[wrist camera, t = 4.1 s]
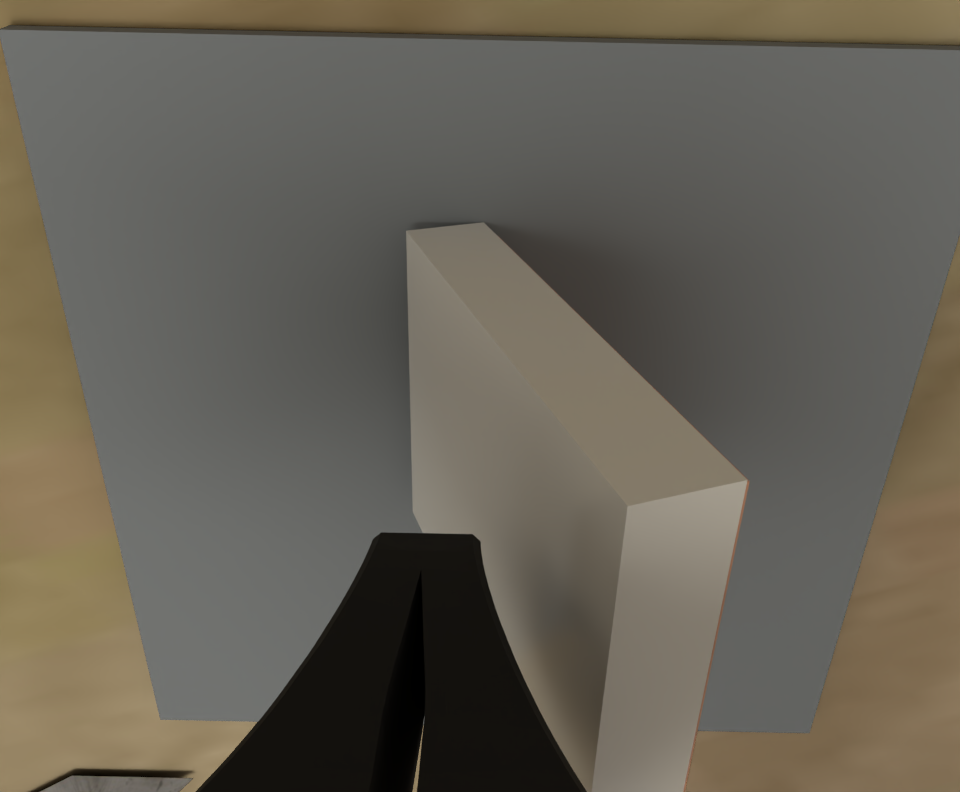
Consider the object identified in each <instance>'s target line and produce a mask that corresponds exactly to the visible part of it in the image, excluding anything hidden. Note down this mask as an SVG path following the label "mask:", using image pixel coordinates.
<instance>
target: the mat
mask: <svg viewBox="0 0 960 792" xmlns="http://www.w3.org/2000/svg"><path fill="white" fill-rule="evenodd" d="M0 40H1V44H2V48H3V52H4V57H5V61H6V65H7V69H8V74H9V78H10V82H11V86H12V91H13V95H14V99H15V103H16V108H17V112H18V116H19V120H20V125H21V129H22V133H23V137H24V142H25V146H26V150H27V154H28V159H29V163H30V167H31V171H32V176H33V180H34V184H35V188H36V193H37V197H38V201H39V205H40V210H41V214H42V218H43V222H44V227H45V231H46V235H47V239H48V244H49V248H50V252H51V257H52V261H53V265H54V269H55V274H56V278H57V282H58V286H59V291H60V295H61V299H62V303H63V308H64V312H65V316H66V320H67V325H68V329H69V333H70V337H71V342H72V346H73V350H74V354H75V359H76V363H77V367H78V371H79V376H80V380H81V384H82V388H83V393H84V397H85V401H86V405H87V410H88V414H89V418H90V422H91V427H92V431H93V435H94V439H95V444H96V448H97V452H98V456H99V461H100V465H101V469H102V473H103V478H104V482H105V486H106V490H107V495H108V499H109V503H110V507H111V512H112V516H113V520H114V524H115V529H116V533H117V537H118V541H119V546H120V550H121V554H122V558H123V563H124V567H125V571H126V576H127V580H128V584H129V588H130V593H131V597H132V601H133V605H134V610H135V614H136V618H137V622H138V627H139V631H140V635H141V639H142V644H143V648H144V652H145V656H146V661H147V665H148V669H149V673H150V678H151V682H152V686H153V690H154V695H155V699H156V703H157V707H158V712H159V716H160V720H205V721H253V722H258V721H259V720H260V719H261V717H262V716H263V715H264V714H265V712H266V711H267V710H268V709H269V707H270V706H271V705H272V703H273V702H274V701H275V700H276V698H277V697H278V696H279V694H280V693H281V691H282V690H283V689H284V687H285V686H286V685H287V683H288V682H289V680H290V679H291V678H292V676H293V675H294V673H295V672H296V671H297V669H298V668H299V666H300V665H301V664H302V662H303V661H304V660H305V658H306V657H307V655H308V654H309V652H310V651H311V649H312V648H313V646H314V645H315V643H316V642H317V640H318V639H319V637H320V636H321V634H322V632H323V631H324V629H325V628H326V626H327V624H328V623H329V621H330V620H331V618H332V616H333V615H334V613H335V612H336V610H337V608H338V607H339V605H340V603H341V602H342V600H343V598H344V596H345V595H346V593H347V591H348V589H349V588H350V586H351V584H352V582H353V580H354V578H355V577H356V575H357V573H358V571H359V569H360V567H361V565H362V563H363V561H364V559H365V557H366V554H367V552H368V550H369V548H370V545H371V543H372V540H373V539H374V538H375V537H376V536H377V535H379V534H380V533H381V532H388V533H423V532H422V530H421V528H420V526H419V524H418V522H417V520H416V518H415V515H414V513H413V501H412V459H411V417H410V375H409V333H408V291H407V249H406V231H408V230H417V229H426V228H435V227H445V226H454V225H463V224H472V223H481V222H484V223H485V224H486V225H487V226H488V227H489V228H490V229H491V230H492V231H493V232H494V233H495V234H496V235H497V236H499V237H500V238H501V239H502V240H503V241H504V242H505V243H506V244H507V245H508V246H509V247H510V248H511V249H512V250H513V251H514V252H515V253H516V254H517V255H518V256H519V257H520V258H521V259H522V260H523V261H524V262H525V263H526V264H527V265H528V266H530V267H531V268H532V269H533V270H534V271H535V272H536V273H537V274H538V275H539V276H540V277H541V278H542V279H543V280H544V281H545V282H546V283H547V284H548V285H549V286H550V287H551V288H552V289H553V290H554V291H555V292H556V293H557V294H558V295H559V296H560V297H561V298H562V299H563V300H564V301H565V302H566V303H567V304H568V305H569V306H571V307H572V308H573V309H574V310H575V311H576V312H577V313H578V314H579V315H580V316H581V317H582V318H583V319H584V320H585V321H586V322H587V323H588V324H589V325H590V326H591V327H592V328H593V329H594V330H595V331H596V332H597V333H598V334H599V335H600V336H601V337H602V338H603V339H604V340H605V341H606V342H607V343H608V344H609V345H611V346H612V347H613V348H614V349H615V350H616V351H617V352H618V353H619V354H620V355H621V356H622V357H623V358H624V359H625V360H626V361H627V362H628V363H629V364H630V365H631V366H632V367H633V368H634V369H635V370H636V371H637V372H638V373H639V374H640V375H641V376H642V377H643V378H644V379H645V380H646V381H647V382H648V383H649V384H650V385H652V386H653V387H654V388H655V389H656V390H657V391H658V392H659V393H660V394H661V395H662V396H663V397H664V398H665V399H666V400H667V401H668V402H669V403H670V404H671V405H672V406H673V407H674V408H675V409H676V410H677V411H678V412H679V413H680V414H681V415H682V416H683V417H684V418H685V419H686V420H687V421H688V422H689V423H690V424H691V425H693V426H694V427H695V428H696V429H697V430H698V431H699V432H700V433H701V434H702V435H703V436H704V437H705V438H706V439H707V440H708V441H709V442H710V443H711V444H712V445H713V446H714V447H715V448H716V449H717V450H718V451H719V452H720V453H721V454H722V455H723V456H724V457H725V458H726V459H727V460H728V461H729V462H730V463H731V464H732V465H734V466H735V467H736V468H737V469H738V470H739V471H740V472H741V473H742V474H743V475H744V476H745V477H746V478H747V479H748V480H749V481H750V482H749V487H748V491H747V496H746V501H745V506H744V511H743V515H742V520H741V525H740V530H739V535H738V539H737V544H736V549H735V554H734V559H733V563H732V568H731V573H730V578H729V583H728V587H727V592H726V597H725V602H724V607H723V611H722V616H721V621H720V626H719V631H718V635H717V640H716V645H715V650H714V655H713V660H712V664H711V669H710V674H709V679H708V684H707V688H706V693H705V698H704V703H703V708H702V712H701V717H700V722H699V727H698V731H729V732H776V733H810V729H811V726H812V723H813V719H814V716H815V713H816V709H817V706H818V703H819V700H820V696H821V693H822V690H823V686H824V683H825V680H826V676H827V673H828V670H829V666H830V663H831V660H832V656H833V653H834V650H835V646H836V643H837V640H838V636H839V633H840V630H841V627H842V623H843V620H844V617H845V613H846V610H847V607H848V603H849V600H850V597H851V593H852V590H853V587H854V583H855V580H856V577H857V573H858V570H859V567H860V563H861V560H862V557H863V554H864V550H865V547H866V544H867V540H868V537H869V534H870V530H871V527H872V524H873V520H874V517H875V514H876V510H877V507H878V504H879V500H880V497H881V494H882V490H883V487H884V484H885V481H886V477H887V474H888V471H889V467H890V464H891V461H892V457H893V454H894V451H895V447H896V444H897V441H898V437H899V434H900V431H901V427H902V424H903V421H904V417H905V414H906V411H907V408H908V404H909V401H910V398H911V394H912V391H913V388H914V384H915V381H916V378H917V374H918V371H919V368H920V364H921V361H922V358H923V354H924V351H925V348H926V344H927V341H928V338H929V335H930V331H931V328H932V325H933V321H934V318H935V315H936V311H937V308H938V305H939V301H940V298H941V295H942V291H943V288H944V285H945V281H946V278H947V275H948V271H949V268H950V265H951V262H952V258H953V255H954V252H955V248H956V245H957V242H958V238H959V235H960V46H946V45H900V44H853V43H807V42H761V41H714V40H668V39H621V38H575V37H528V36H482V35H436V34H389V33H343V32H296V31H250V30H204V29H157V28H111V27H64V26H18V25H9V26H6V27H4V28H1V29H0ZM424 718H425V716H424ZM423 725H424V722H423Z"/></svg>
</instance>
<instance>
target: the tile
mask: <svg viewBox="0 0 960 792" xmlns="http://www.w3.org/2000/svg"><path fill="white" fill-rule="evenodd" d="M406 249H407V291H408V333H409V375H410V417H411V459H412V501H413V513H414V515H415V518H416V520H417V522H418V524H419V526H420V528H421V530H422V532H423V533H441V534H473V535H474V536H475V537H476V538H477V539H479V540H480V541H481V553H482V559H483V565H484V570H485V574H486V578H487V582H488V586H489V589H490V592H491V595H492V599H493V602H494V605H495V608H496V611H497V614H498V617H499V619H500V622H501V625H502V627H503V630H504V632H505V635H506V637H507V640H508V642H509V645H510V647H511V650H512V652H513V655H514V657H515V660H516V662H517V664H518V666H519V669H520V671H521V673H522V675H523V677H524V680H525V682H526V684H527V686H528V688H529V690H530V692H531V694H532V696H533V698H534V700H535V702H536V704H537V706H538V708H539V710H540V712H541V714H542V716H543V718H544V720H545V722H546V724H547V725H548V727H549V729H550V731H551V733H552V735H553V736H554V738H555V740H556V742H557V743H558V745H559V747H560V749H561V750H562V752H563V754H564V755H565V757H566V759H567V761H568V762H569V764H570V766H571V767H572V769H573V771H574V772H575V774H576V775H577V777H578V778H579V780H580V782H581V783H582V785H583V786H584V788H585V789H586V791H587V792H685V789H686V784H687V780H688V775H689V770H690V765H691V760H692V756H693V751H694V746H695V741H696V736H697V732H698V727H699V722H700V717H701V712H702V708H703V703H704V698H705V693H706V688H707V684H708V679H709V674H710V669H711V664H712V660H713V655H714V650H715V645H716V640H717V635H718V631H719V626H720V621H721V616H722V611H723V607H724V602H725V597H726V592H727V587H728V583H729V578H730V573H731V568H732V563H733V559H734V554H735V549H736V544H737V539H738V535H739V530H740V525H741V520H742V515H743V511H744V506H745V501H746V496H747V491H748V487H749V482H750V481H749V480H748V479H747V478H746V477H745V476H744V475H743V474H742V473H741V472H740V471H739V470H738V469H737V468H736V467H735V466H734V465H732V464H731V463H730V462H729V461H728V460H727V459H726V458H725V457H724V456H723V455H722V454H721V453H720V452H719V451H718V450H717V449H716V448H715V447H714V446H713V445H712V444H711V443H710V442H709V441H708V440H707V439H706V438H705V437H704V436H703V435H702V434H701V433H700V432H699V431H698V430H697V429H696V428H695V427H694V426H693V425H691V424H690V423H689V422H688V421H687V420H686V419H685V418H684V417H683V416H682V415H681V414H680V413H679V412H678V411H677V410H676V409H675V408H674V407H673V406H672V405H671V404H670V403H669V402H668V401H667V400H666V399H665V398H664V397H663V396H662V395H661V394H660V393H659V392H658V391H657V390H656V389H655V388H654V387H653V386H652V385H650V384H649V383H648V382H647V381H646V380H645V379H644V378H643V377H642V376H641V375H640V374H639V373H638V372H637V371H636V370H635V369H634V368H633V367H632V366H631V365H630V364H629V363H628V362H627V361H626V360H625V359H624V358H623V357H622V356H621V355H620V354H619V353H618V352H617V351H616V350H615V349H614V348H613V347H612V346H611V345H609V344H608V343H607V342H606V341H605V340H604V339H603V338H602V337H601V336H600V335H599V334H598V333H597V332H596V331H595V330H594V329H593V328H592V327H591V326H590V325H589V324H588V323H587V322H586V321H585V320H584V319H583V318H582V317H581V316H580V315H579V314H578V313H577V312H576V311H575V310H574V309H573V308H572V307H571V306H569V305H568V304H567V303H566V302H565V301H564V300H563V299H562V298H561V297H560V296H559V295H558V294H557V293H556V292H555V291H554V290H553V289H552V288H551V287H550V286H549V285H548V284H547V283H546V282H545V281H544V280H543V279H542V278H541V277H540V276H539V275H538V274H537V273H536V272H535V271H534V270H533V269H532V268H531V267H530V266H528V265H527V264H526V263H525V262H524V261H523V260H522V259H521V258H520V257H519V256H518V255H517V254H516V253H515V252H514V251H513V250H512V249H511V248H510V247H509V246H508V245H507V244H506V243H505V242H504V241H503V240H502V239H501V238H500V237H499V236H497V235H496V234H495V233H494V232H493V231H492V230H491V229H490V228H489V227H488V226H487V225H486V224H485V223H484V222H481V223H472V224H463V225H454V226H445V227H435V228H426V229H417V230H408V231H406Z"/></svg>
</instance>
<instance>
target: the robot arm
mask: <svg viewBox="0 0 960 792" xmlns="http://www.w3.org/2000/svg"><path fill="white" fill-rule="evenodd" d="M424 716H425V718H424ZM423 722H424V728H423ZM422 729H423V738H422V749H421V759H420V769H419V779H418V788H417V792H587V791H586V789H585V788H584V786H583V785H582V783H581V782H580V780H579V778H578V777H577V775H576V774H575V772H574V771H573V769H572V767H571V766H570V764H569V762H568V761H567V759H566V757H565V755H564V754H563V752H562V750H561V749H560V747H559V745H558V743H557V742H556V740H555V738H554V736H553V735H552V733H551V731H550V729H549V727H548V725H547V724H546V722H545V720H544V718H543V716H542V714H541V712H540V710H539V708H538V706H537V704H536V702H535V700H534V698H533V696H532V694H531V692H530V690H529V688H528V686H527V684H526V682H525V680H524V677H523V675H522V673H521V671H520V669H519V666H518V664H517V662H516V660H515V657H514V655H513V652H512V650H511V647H510V645H509V642H508V640H507V637H506V635H505V632H504V630H503V627H502V625H501V622H500V619H499V617H498V614H497V611H496V608H495V605H494V602H493V599H492V595H491V592H490V589H489V586H488V582H487V578H486V574H485V570H484V565H483V559H482V553H481V541H480V540H479V539H477V538H476V537H475V536H474V535H473V534H441V533H388V532H381V533H380V534H379V535H377V536H376V537H375V538H374V539H373V540H372V543H371V545H370V548H369V550H368V552H367V554H366V557H365V559H364V561H363V563H362V565H361V567H360V569H359V571H358V573H357V575H356V577H355V578H354V580H353V582H352V584H351V586H350V588H349V589H348V591H347V593H346V595H345V596H344V598H343V600H342V602H341V603H340V605H339V607H338V608H337V610H336V612H335V613H334V615H333V616H332V618H331V620H330V621H329V623H328V624H327V626H326V628H325V629H324V631H323V632H322V634H321V636H320V637H319V639H318V640H317V642H316V643H315V645H314V646H313V648H312V649H311V651H310V652H309V654H308V655H307V657H306V658H305V660H304V661H303V662H302V664H301V665H300V666H299V668H298V669H297V671H296V672H295V673H294V675H293V676H292V678H291V679H290V680H289V682H288V683H287V685H286V686H285V687H284V689H283V690H282V691H281V693H280V694H279V696H278V697H277V698H276V700H275V701H274V702H273V703H272V705H271V706H270V707H269V709H268V710H267V711H266V712H265V714H264V715H263V716H262V717H261V719H260V720H259V721H258V722H257V724H256V725H255V726H254V727H253V728H252V730H251V731H250V732H249V733H248V734H247V736H246V737H245V738H244V739H243V740H242V741H241V743H240V744H239V745H238V746H237V747H236V748H235V750H234V751H233V752H232V753H231V754H230V755H229V757H228V758H227V759H226V760H225V761H224V762H223V763H222V764H221V765H220V766H219V767H218V769H217V770H216V771H215V772H214V773H213V774H212V775H211V776H210V777H209V778H208V779H207V780H206V781H205V782H204V783H203V784H202V786H201V787H200V788H199V789H198V790H197V791H196V792H412V790H413V784H414V778H415V772H416V766H417V760H418V753H419V747H420V741H421V735H422Z"/></svg>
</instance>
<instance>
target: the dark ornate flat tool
mask: <svg viewBox="0 0 960 792" xmlns="http://www.w3.org/2000/svg"><path fill="white" fill-rule="evenodd" d="M192 779H193V778H160V777H114V776H70V777H68V778H66V779H64V780H62V781H60V782H58V783H56V784H54V785H52V786H50V787H48V788H46V789H44V790H42V791H40V792H179V791H181V790H182V789H183V788H184V787H185V786H186V785H187V784H188V783H189V782H190V781H191V780H192Z"/></svg>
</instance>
